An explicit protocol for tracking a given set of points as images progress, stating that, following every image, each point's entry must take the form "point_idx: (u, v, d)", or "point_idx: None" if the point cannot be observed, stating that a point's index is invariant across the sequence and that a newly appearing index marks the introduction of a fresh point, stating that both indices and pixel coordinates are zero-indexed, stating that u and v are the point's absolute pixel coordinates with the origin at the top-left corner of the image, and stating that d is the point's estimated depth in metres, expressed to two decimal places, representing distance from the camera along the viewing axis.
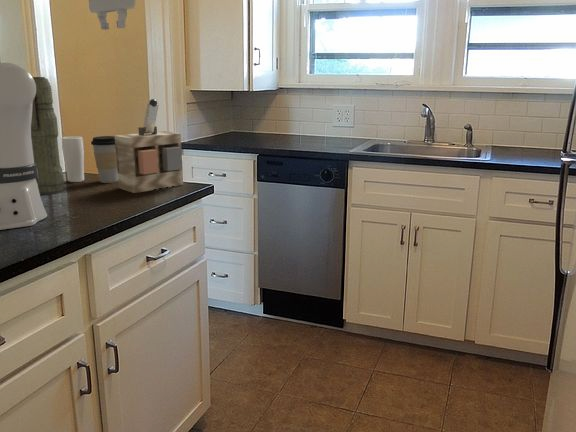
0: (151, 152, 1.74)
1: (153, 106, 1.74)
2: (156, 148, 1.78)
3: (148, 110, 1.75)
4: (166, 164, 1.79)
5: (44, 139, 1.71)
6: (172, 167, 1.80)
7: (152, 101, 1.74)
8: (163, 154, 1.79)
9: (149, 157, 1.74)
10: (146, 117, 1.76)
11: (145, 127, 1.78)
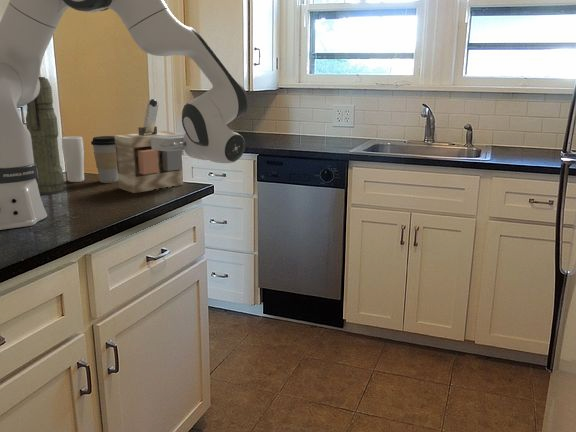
0: (151, 152, 1.74)
1: (153, 106, 1.74)
2: None
3: (148, 110, 1.75)
4: (166, 164, 1.79)
5: (44, 139, 1.71)
6: (172, 167, 1.80)
7: (152, 101, 1.74)
8: (163, 154, 1.79)
9: (149, 157, 1.74)
10: (146, 117, 1.76)
11: (145, 127, 1.78)
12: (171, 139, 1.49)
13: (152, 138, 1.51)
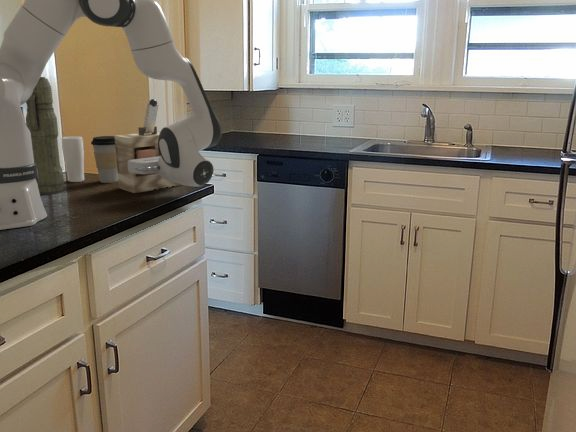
0: (149, 152, 1.74)
1: (153, 106, 1.74)
2: (156, 148, 1.78)
3: (148, 110, 1.75)
4: None
5: (44, 139, 1.71)
6: None
7: (152, 101, 1.74)
8: None
9: (148, 157, 1.74)
10: (146, 117, 1.76)
11: (145, 127, 1.78)
12: (146, 163, 1.61)
13: (129, 162, 1.63)
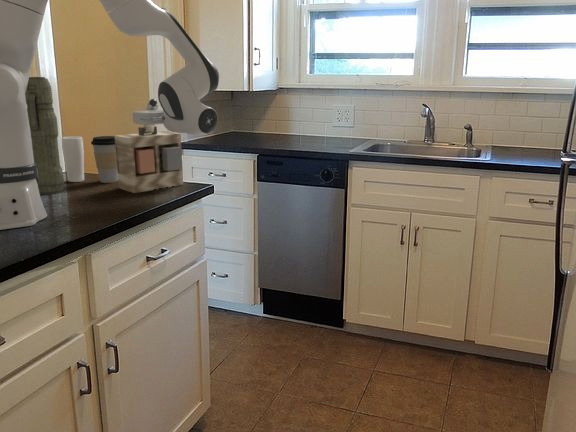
0: (148, 151, 1.75)
1: (153, 106, 1.75)
2: (156, 148, 1.78)
3: None
4: (166, 164, 1.79)
5: (44, 139, 1.71)
6: (172, 167, 1.80)
7: (152, 101, 1.74)
8: (163, 154, 1.79)
9: (146, 157, 1.75)
10: None
11: (145, 127, 1.78)
12: (151, 113, 1.62)
13: (134, 113, 1.65)
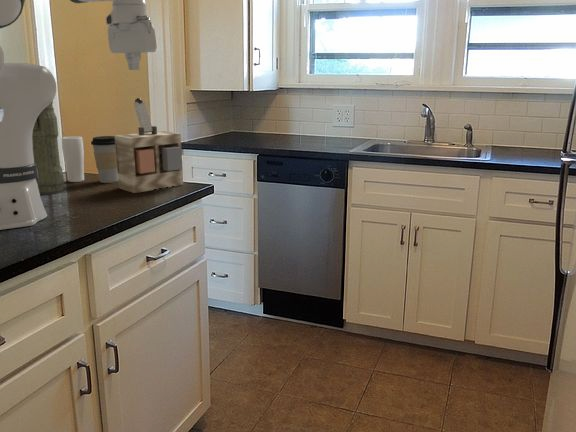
0: (148, 151, 1.75)
1: (139, 102, 1.80)
2: (156, 148, 1.78)
3: (137, 108, 1.80)
4: (166, 164, 1.79)
5: (44, 139, 1.71)
6: (172, 167, 1.80)
7: (136, 99, 1.80)
8: (163, 154, 1.79)
9: (146, 157, 1.75)
10: (138, 116, 1.80)
11: (142, 126, 1.79)
12: (140, 22, 1.47)
13: (146, 45, 1.47)
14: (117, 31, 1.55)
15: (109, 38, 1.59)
